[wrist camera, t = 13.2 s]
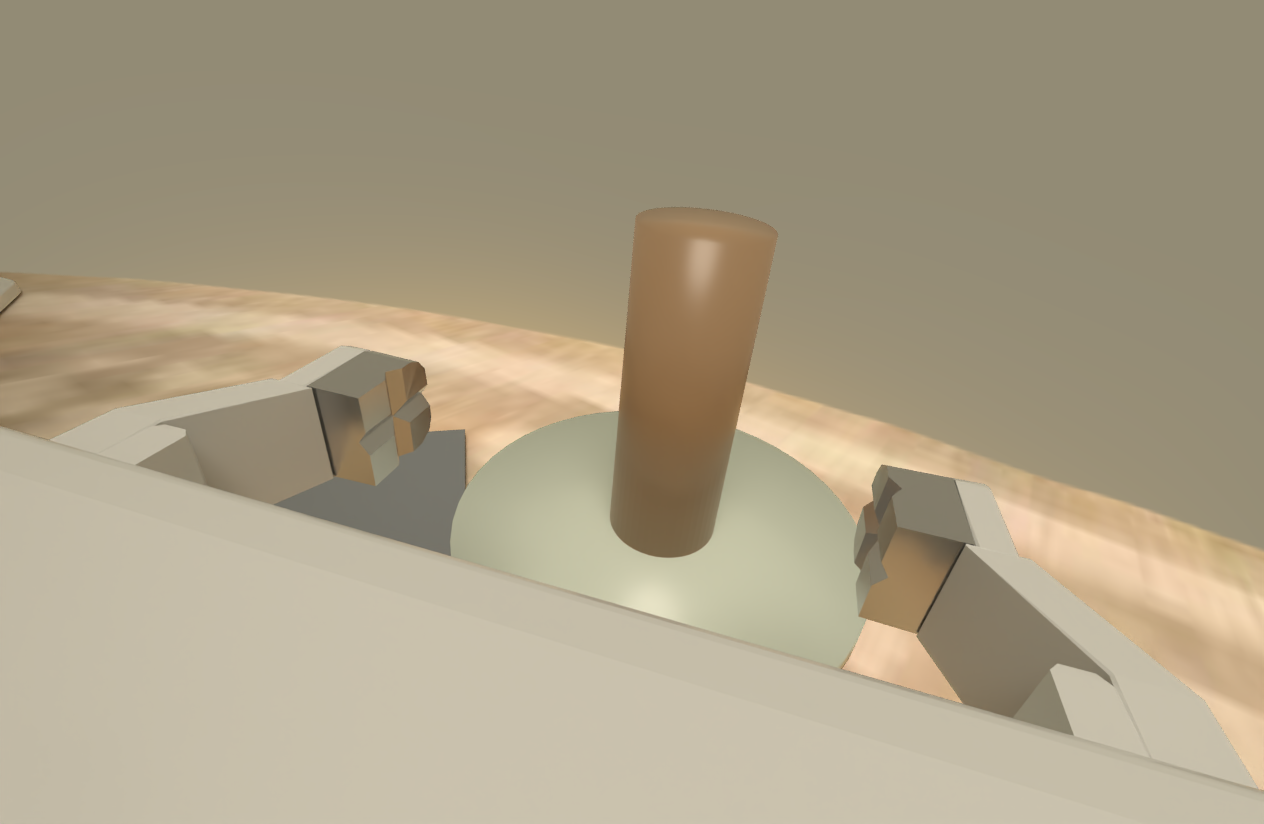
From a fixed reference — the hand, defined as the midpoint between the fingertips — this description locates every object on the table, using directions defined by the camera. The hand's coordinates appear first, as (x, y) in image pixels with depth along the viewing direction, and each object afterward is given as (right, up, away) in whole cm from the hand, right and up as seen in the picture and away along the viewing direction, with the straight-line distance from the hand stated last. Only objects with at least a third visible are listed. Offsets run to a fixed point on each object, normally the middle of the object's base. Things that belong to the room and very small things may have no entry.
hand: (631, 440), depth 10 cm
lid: (+1, -4, +10) cm, 11 cm away
